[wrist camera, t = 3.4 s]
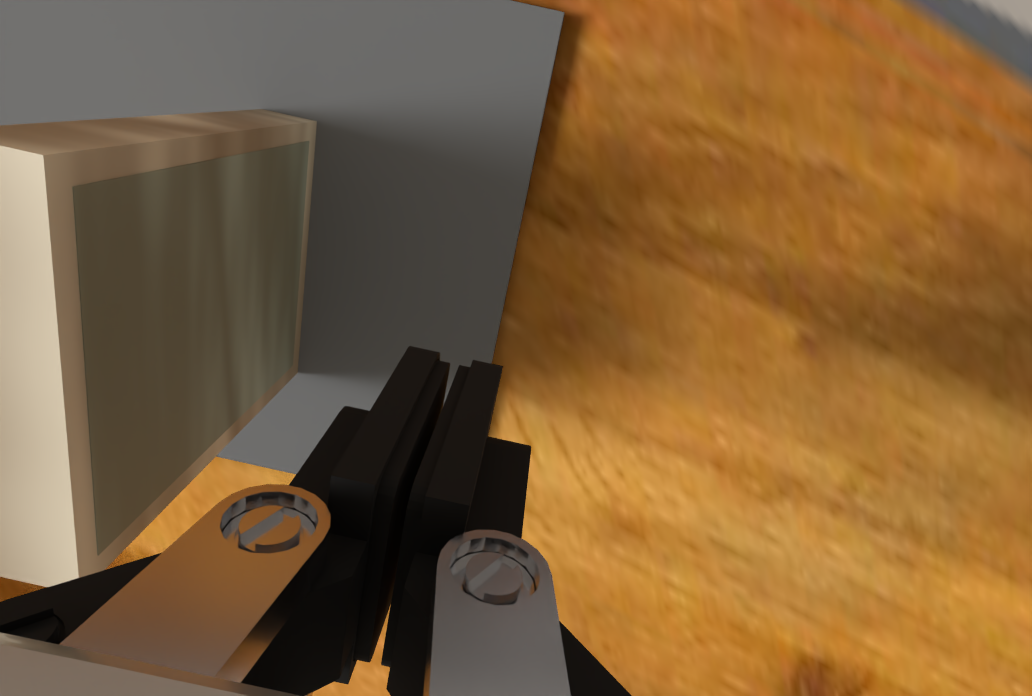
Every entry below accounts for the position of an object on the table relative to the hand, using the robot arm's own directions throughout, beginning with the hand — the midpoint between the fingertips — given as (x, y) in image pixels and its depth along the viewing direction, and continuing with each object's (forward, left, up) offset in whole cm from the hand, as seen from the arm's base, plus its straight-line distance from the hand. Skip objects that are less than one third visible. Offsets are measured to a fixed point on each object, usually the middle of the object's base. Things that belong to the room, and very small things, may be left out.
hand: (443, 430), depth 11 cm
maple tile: (+7, 0, -9) cm, 11 cm away
